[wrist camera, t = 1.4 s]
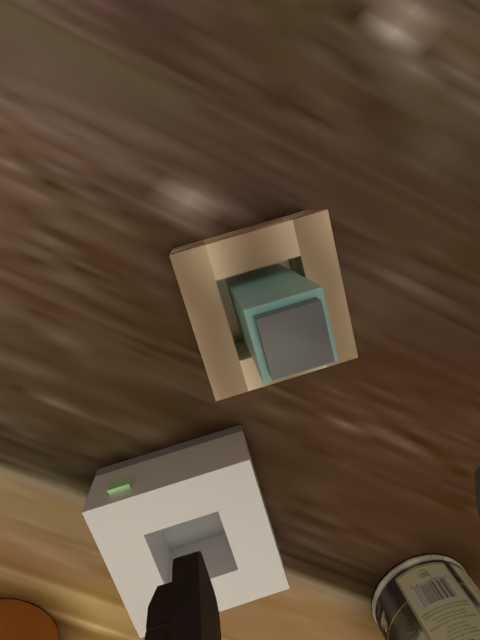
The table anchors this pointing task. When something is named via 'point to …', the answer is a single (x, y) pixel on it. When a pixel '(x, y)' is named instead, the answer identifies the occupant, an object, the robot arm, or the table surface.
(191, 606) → the robot arm
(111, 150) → the table surface
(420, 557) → the coffee can
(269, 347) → the plug
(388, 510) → the table surface
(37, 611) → the flower pot
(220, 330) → the holster
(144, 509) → the port
